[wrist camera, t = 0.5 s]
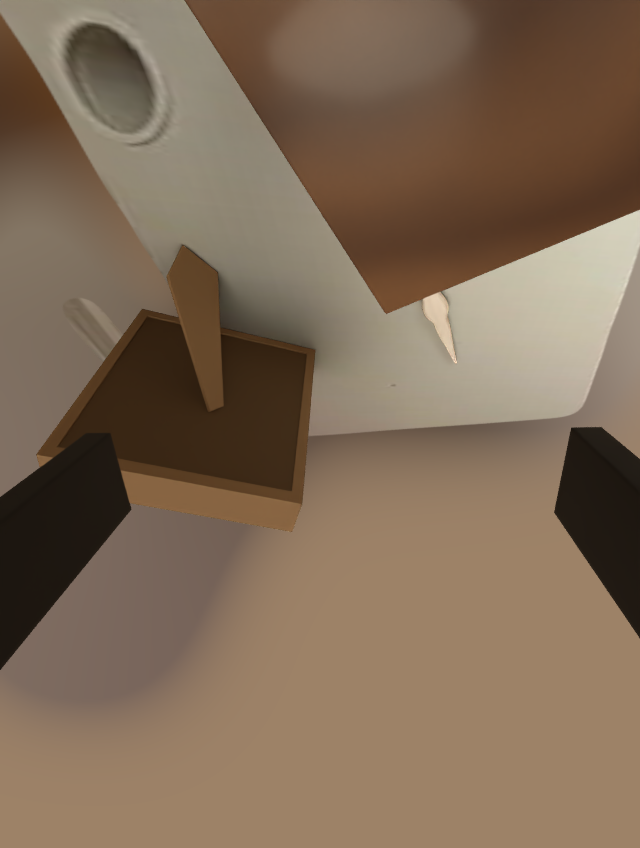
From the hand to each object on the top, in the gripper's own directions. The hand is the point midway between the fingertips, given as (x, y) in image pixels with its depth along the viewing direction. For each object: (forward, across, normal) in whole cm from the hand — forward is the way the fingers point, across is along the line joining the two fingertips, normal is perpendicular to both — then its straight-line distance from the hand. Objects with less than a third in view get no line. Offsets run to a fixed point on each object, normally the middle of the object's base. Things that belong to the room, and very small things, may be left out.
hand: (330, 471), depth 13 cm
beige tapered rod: (+40, +10, -3) cm, 42 cm away
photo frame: (+41, -14, -2) cm, 43 cm away
